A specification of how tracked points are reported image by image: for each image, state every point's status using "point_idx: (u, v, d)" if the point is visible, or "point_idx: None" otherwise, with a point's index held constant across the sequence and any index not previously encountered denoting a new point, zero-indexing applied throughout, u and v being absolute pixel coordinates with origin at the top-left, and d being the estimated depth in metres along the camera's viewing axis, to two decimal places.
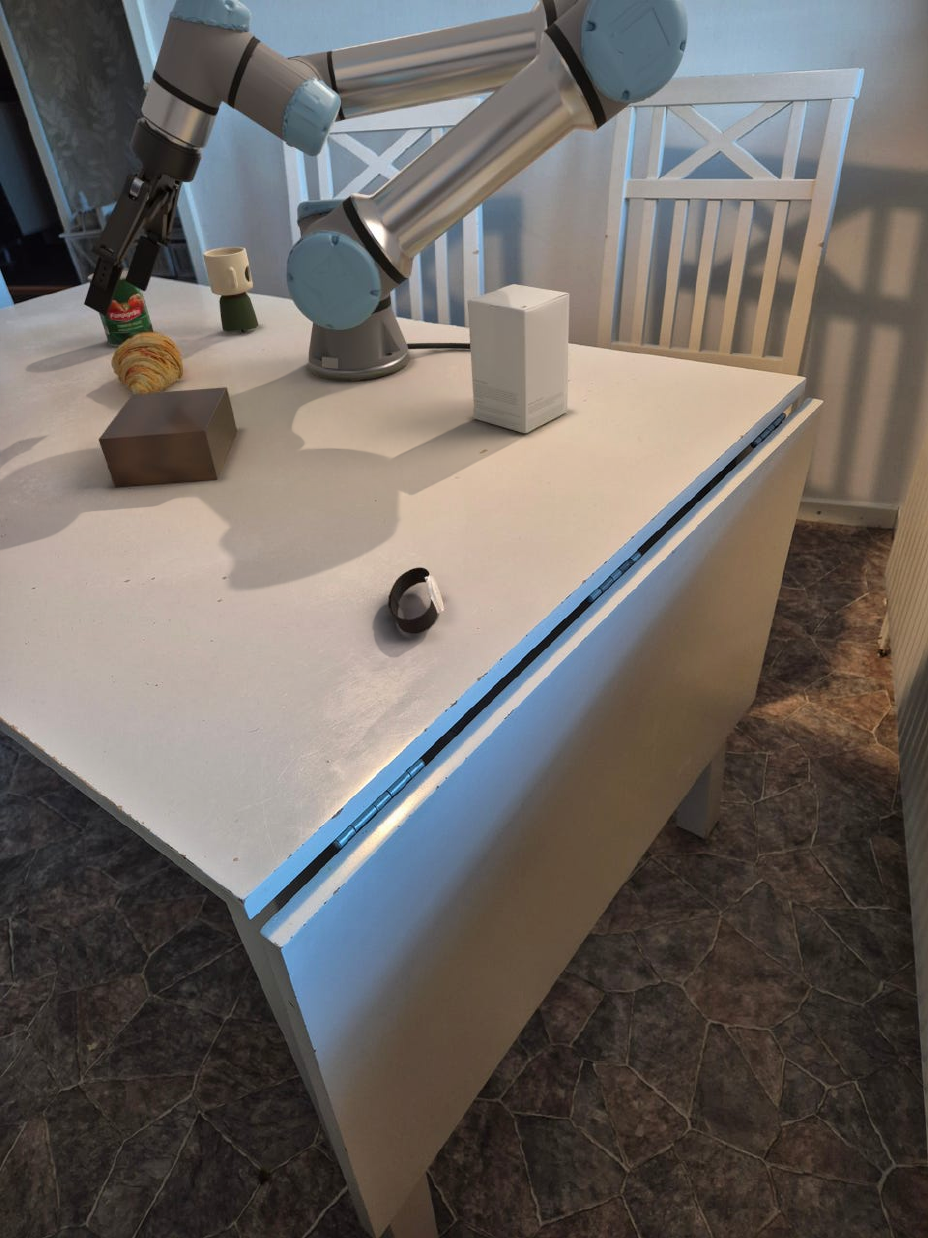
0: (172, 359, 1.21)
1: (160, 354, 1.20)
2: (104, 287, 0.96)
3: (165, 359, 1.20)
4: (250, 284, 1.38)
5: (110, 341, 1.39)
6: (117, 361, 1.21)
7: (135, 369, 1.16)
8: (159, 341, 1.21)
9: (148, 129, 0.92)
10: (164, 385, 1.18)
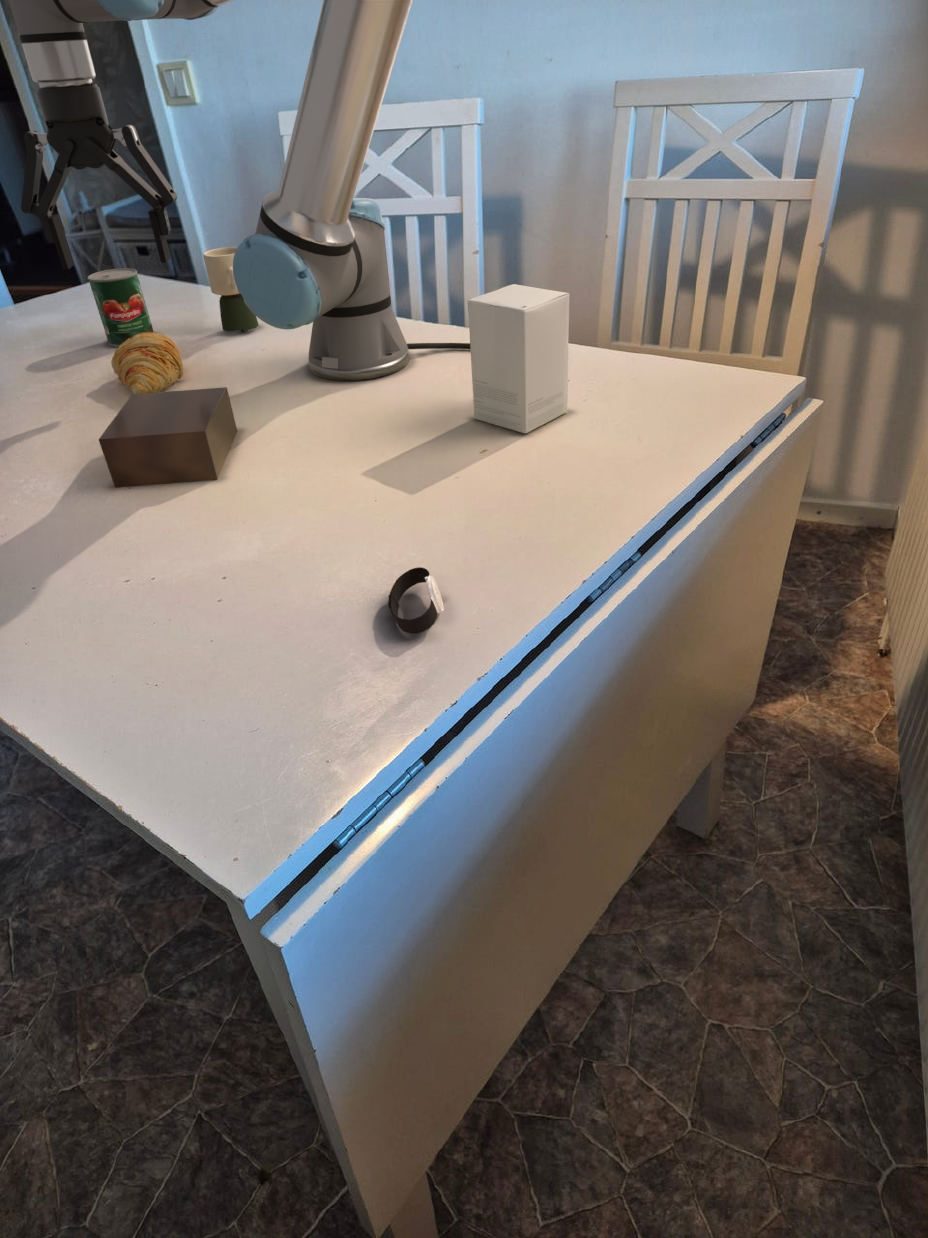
0: (172, 359, 1.21)
1: (160, 354, 1.20)
2: (48, 240, 1.11)
3: (165, 359, 1.20)
4: None
5: (110, 341, 1.39)
6: (117, 361, 1.21)
7: (135, 369, 1.16)
8: (159, 341, 1.21)
9: None
10: (164, 385, 1.18)
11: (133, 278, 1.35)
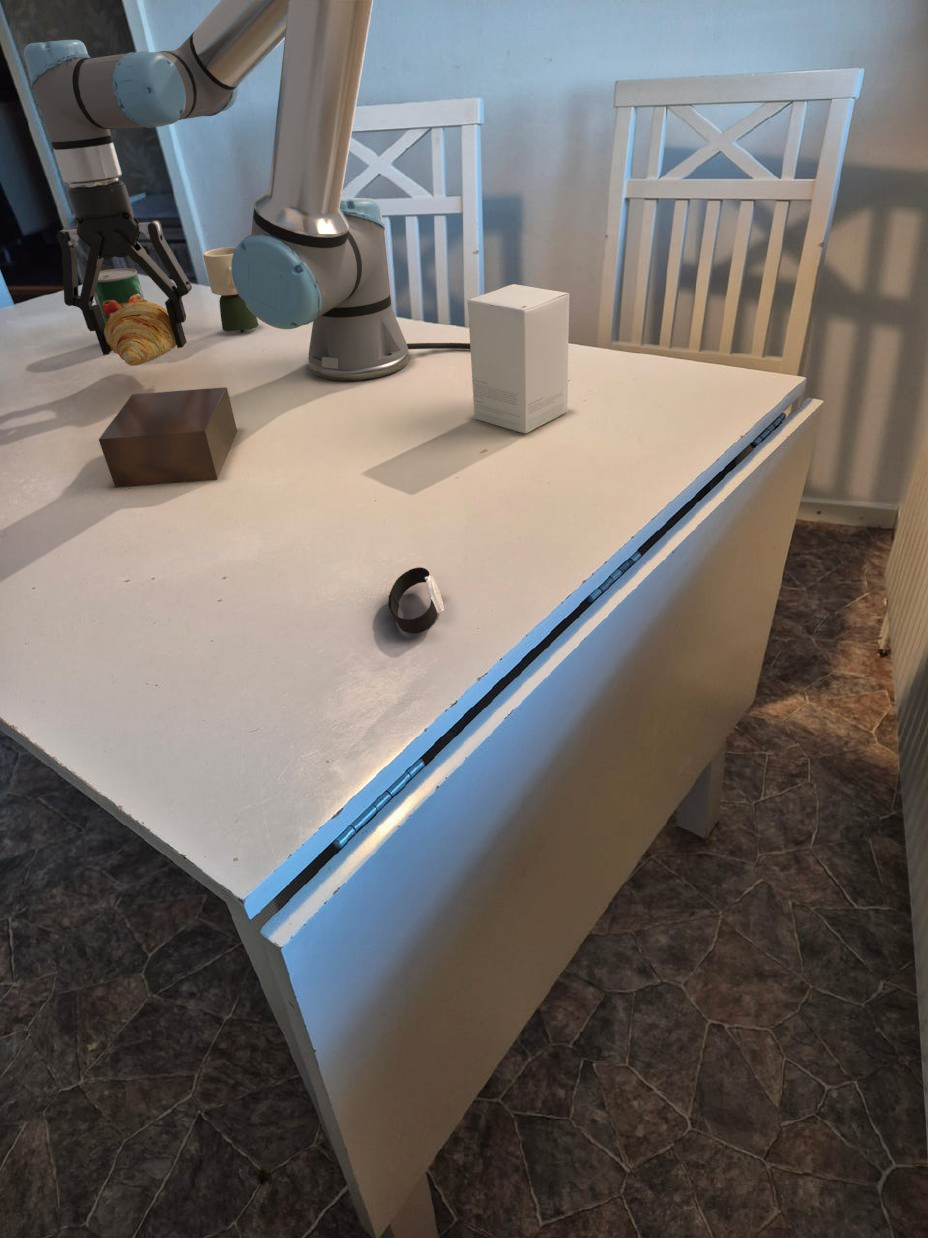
0: (165, 327, 1.18)
1: (153, 322, 1.17)
2: (89, 329, 1.19)
3: (158, 327, 1.17)
4: None
5: None
6: (109, 330, 1.18)
7: (126, 337, 1.13)
8: (152, 309, 1.18)
9: None
10: (157, 353, 1.16)
11: (133, 278, 1.35)
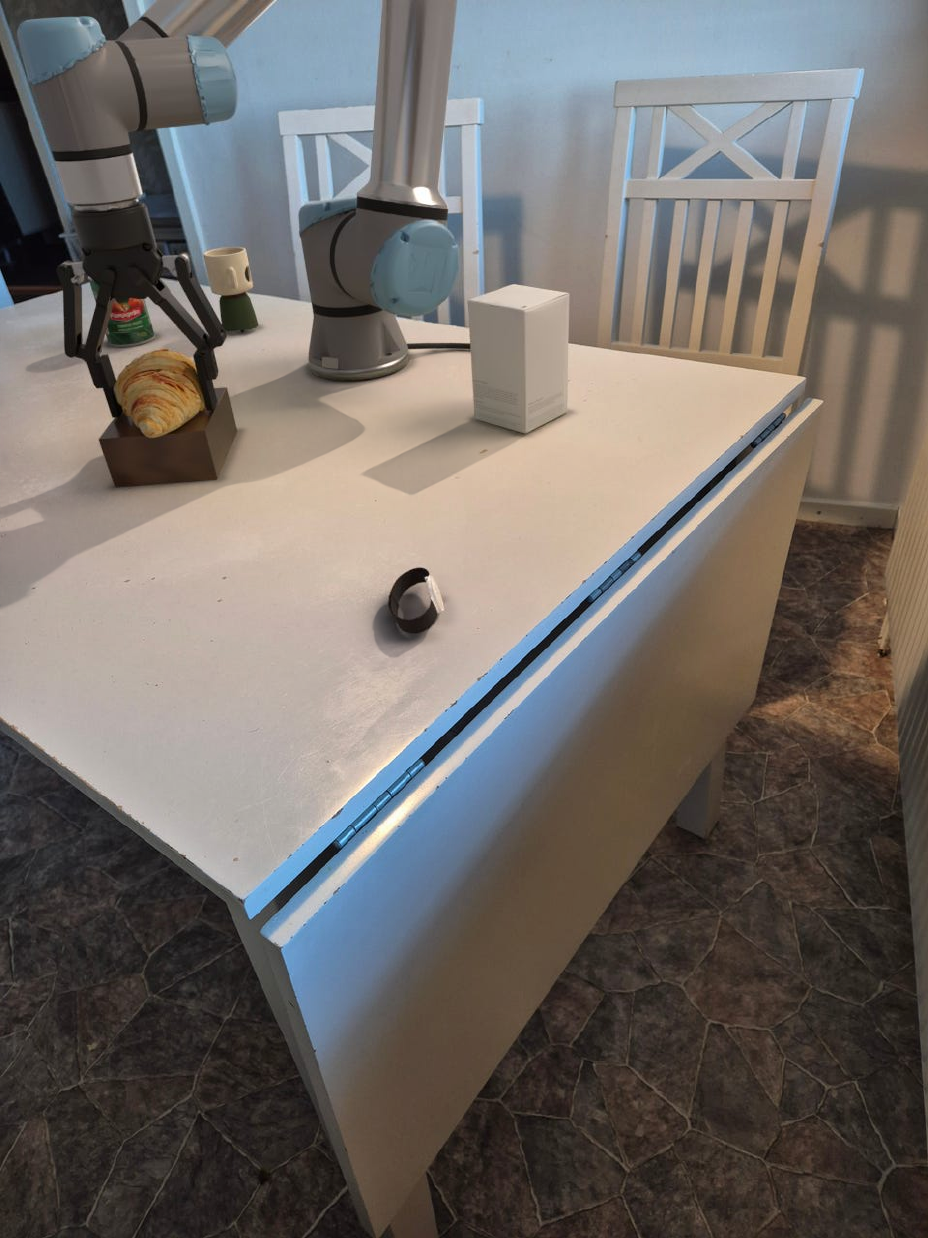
0: (192, 386, 0.93)
1: (177, 379, 0.93)
2: (95, 385, 0.94)
3: (183, 386, 0.92)
4: (250, 284, 1.38)
5: (110, 341, 1.39)
6: (121, 388, 0.93)
7: (144, 400, 0.89)
8: (176, 362, 0.93)
9: None
10: (182, 420, 0.91)
11: None
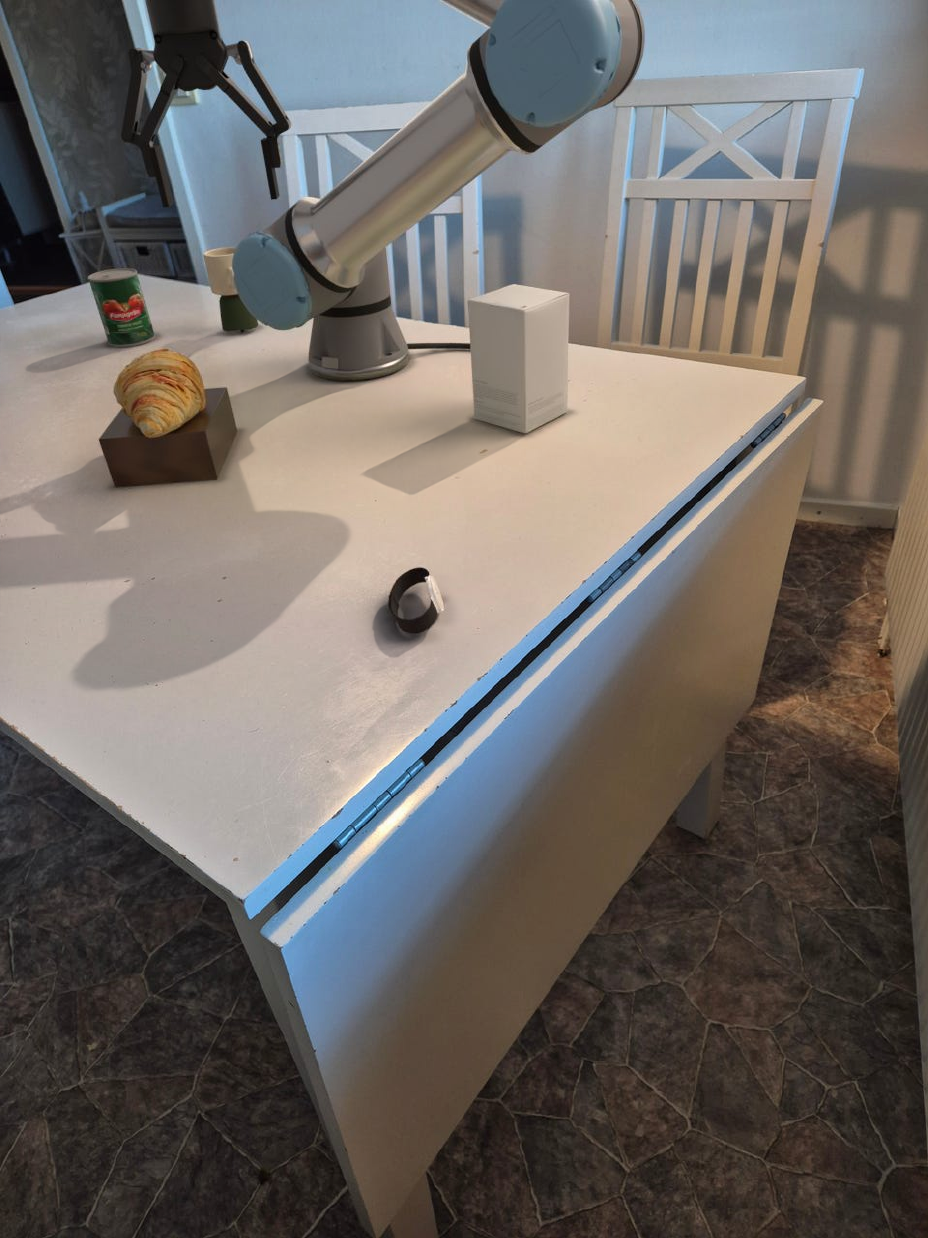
0: (192, 386, 0.93)
1: (177, 379, 0.93)
2: (148, 174, 1.01)
3: (183, 386, 0.92)
4: None
5: (110, 341, 1.39)
6: (121, 388, 0.93)
7: (144, 400, 0.89)
8: (176, 362, 0.93)
9: None
10: (182, 420, 0.91)
11: (133, 278, 1.35)
